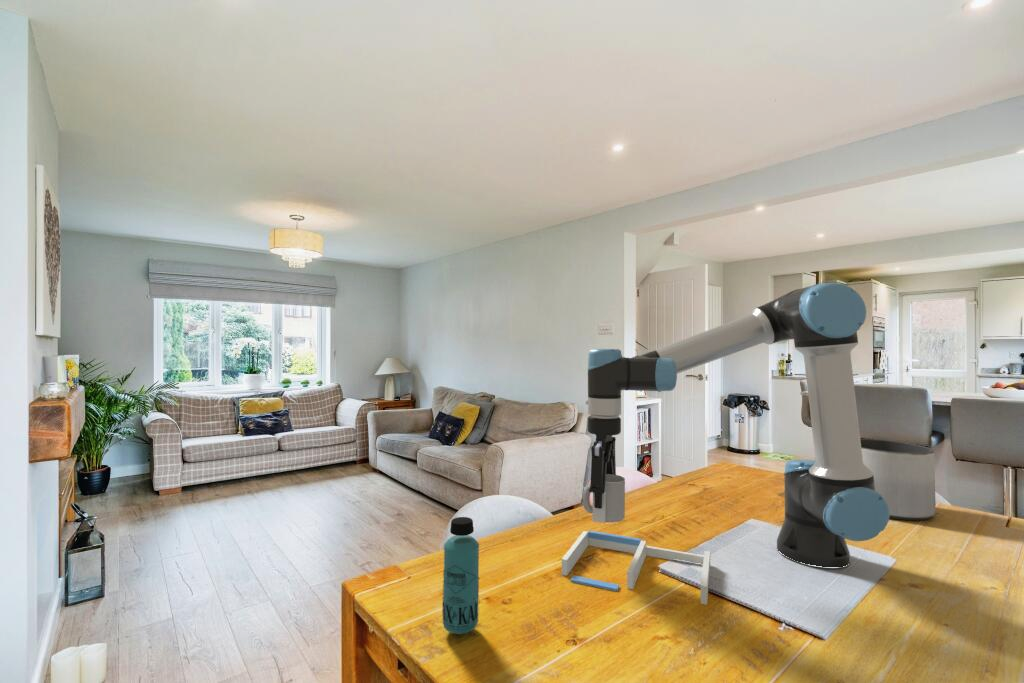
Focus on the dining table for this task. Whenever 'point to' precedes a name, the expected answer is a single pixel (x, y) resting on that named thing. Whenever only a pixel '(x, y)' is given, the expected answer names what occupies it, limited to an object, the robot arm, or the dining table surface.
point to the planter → (902, 477)
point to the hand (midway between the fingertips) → (603, 515)
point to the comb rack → (634, 569)
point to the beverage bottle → (461, 578)
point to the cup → (610, 498)
